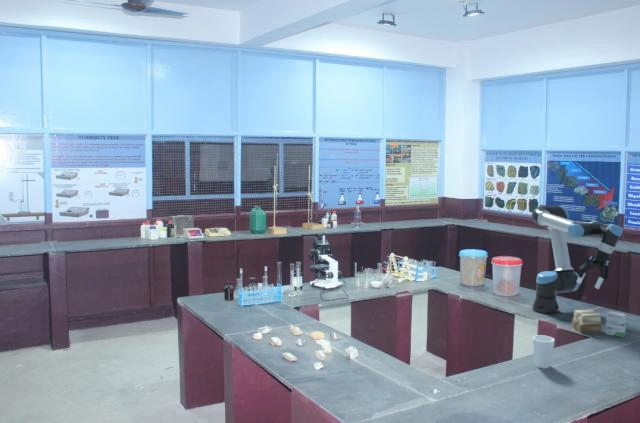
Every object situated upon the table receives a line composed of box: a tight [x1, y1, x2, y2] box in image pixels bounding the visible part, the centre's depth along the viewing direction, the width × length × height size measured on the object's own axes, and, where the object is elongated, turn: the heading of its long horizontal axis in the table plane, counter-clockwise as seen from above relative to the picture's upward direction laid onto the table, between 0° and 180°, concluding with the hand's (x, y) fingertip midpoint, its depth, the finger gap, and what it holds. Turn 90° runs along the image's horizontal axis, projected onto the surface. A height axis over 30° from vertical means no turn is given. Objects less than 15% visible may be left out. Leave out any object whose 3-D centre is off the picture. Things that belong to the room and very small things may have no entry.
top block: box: [573, 309, 602, 325], centre depth 309 cm, size 10×10×5 cm
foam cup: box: [532, 334, 555, 369], centre depth 261 cm, size 10×9×13 cm
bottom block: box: [571, 317, 602, 334], centre depth 310 cm, size 11×11×5 cm
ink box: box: [605, 310, 627, 338], centre depth 301 cm, size 9×5×12 cm, turn 43°
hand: (587, 285), depth 315 cm, fingers open, 13 cm apart
